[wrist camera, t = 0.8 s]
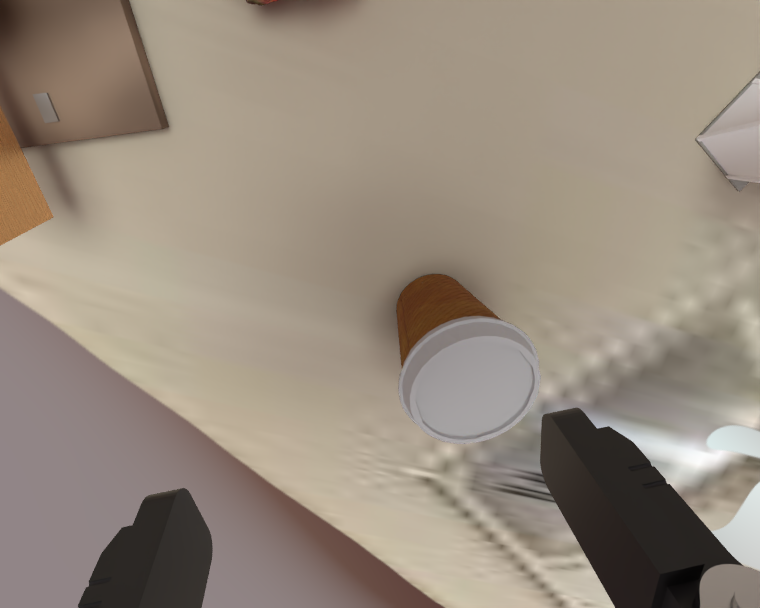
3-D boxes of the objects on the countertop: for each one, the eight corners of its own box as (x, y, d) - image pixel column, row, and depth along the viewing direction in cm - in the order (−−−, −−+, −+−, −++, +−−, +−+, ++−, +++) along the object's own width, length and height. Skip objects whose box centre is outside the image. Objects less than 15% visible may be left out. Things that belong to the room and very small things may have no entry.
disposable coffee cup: (503, 310, 40) (572, 394, 29) (419, 369, 41) (455, 470, 31) (445, 232, 35) (501, 298, 25) (355, 303, 37) (370, 392, 27)
